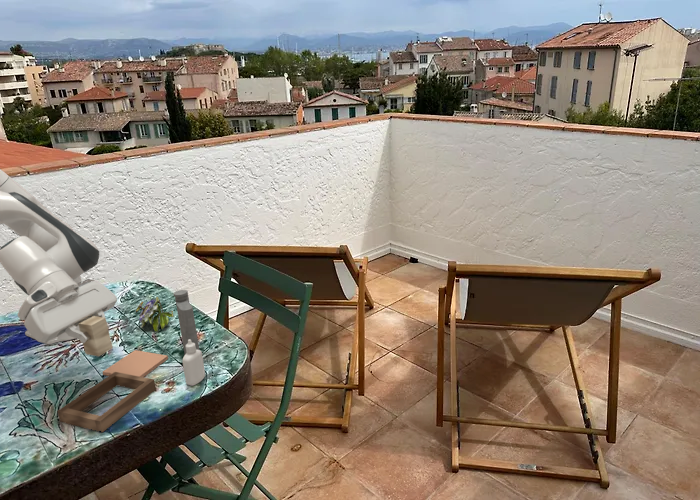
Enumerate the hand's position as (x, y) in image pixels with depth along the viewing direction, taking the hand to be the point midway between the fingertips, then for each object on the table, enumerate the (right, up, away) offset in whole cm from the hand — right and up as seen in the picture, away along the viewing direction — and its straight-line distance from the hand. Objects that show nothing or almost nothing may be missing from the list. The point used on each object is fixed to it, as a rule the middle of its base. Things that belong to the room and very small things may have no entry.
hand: (97, 334), depth 107 cm
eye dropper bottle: (+18, -15, +15) cm, 28 cm away
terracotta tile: (-1, -13, +23) cm, 26 cm away
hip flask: (+12, -11, +28) cm, 33 cm away
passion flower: (-6, -6, +47) cm, 48 cm away
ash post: (0, -4, +2) cm, 4 cm away
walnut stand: (0, -18, +6) cm, 19 cm away
